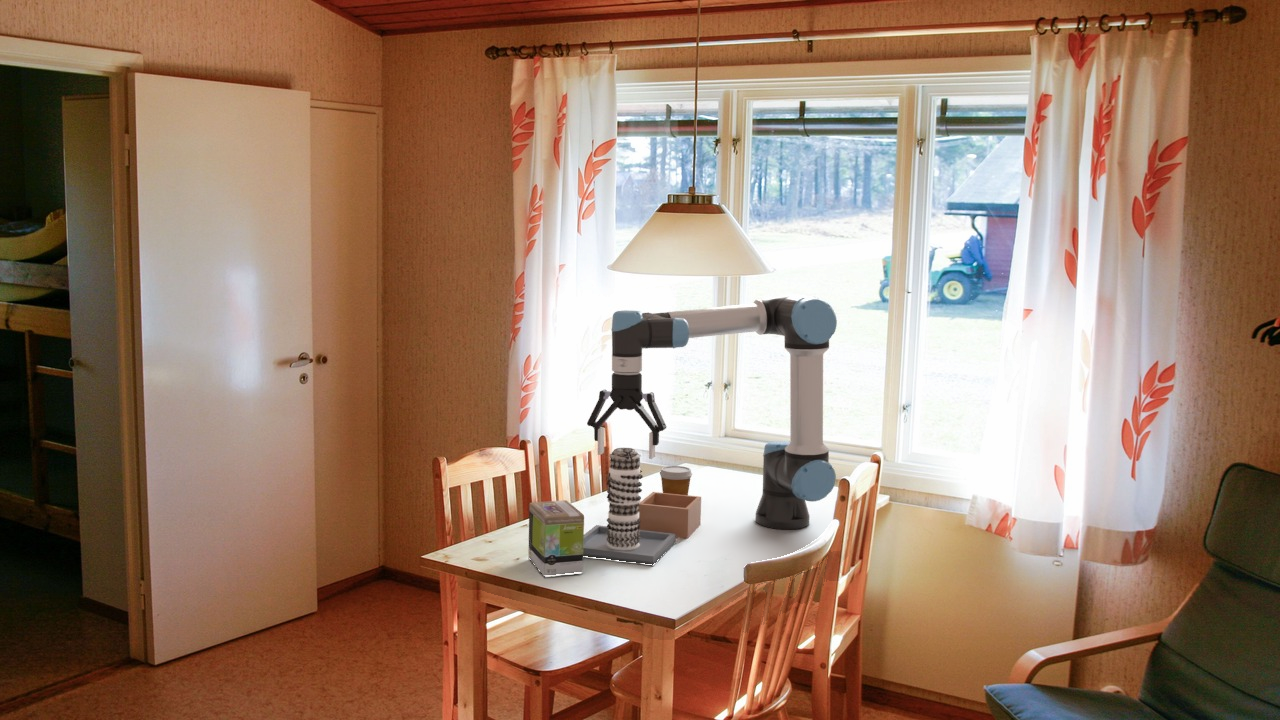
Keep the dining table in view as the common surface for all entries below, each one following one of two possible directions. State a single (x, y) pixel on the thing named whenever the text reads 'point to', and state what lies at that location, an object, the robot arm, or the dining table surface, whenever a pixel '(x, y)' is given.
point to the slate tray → (647, 552)
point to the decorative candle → (624, 499)
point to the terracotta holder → (670, 514)
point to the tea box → (556, 537)
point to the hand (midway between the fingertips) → (626, 455)
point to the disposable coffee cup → (675, 479)
